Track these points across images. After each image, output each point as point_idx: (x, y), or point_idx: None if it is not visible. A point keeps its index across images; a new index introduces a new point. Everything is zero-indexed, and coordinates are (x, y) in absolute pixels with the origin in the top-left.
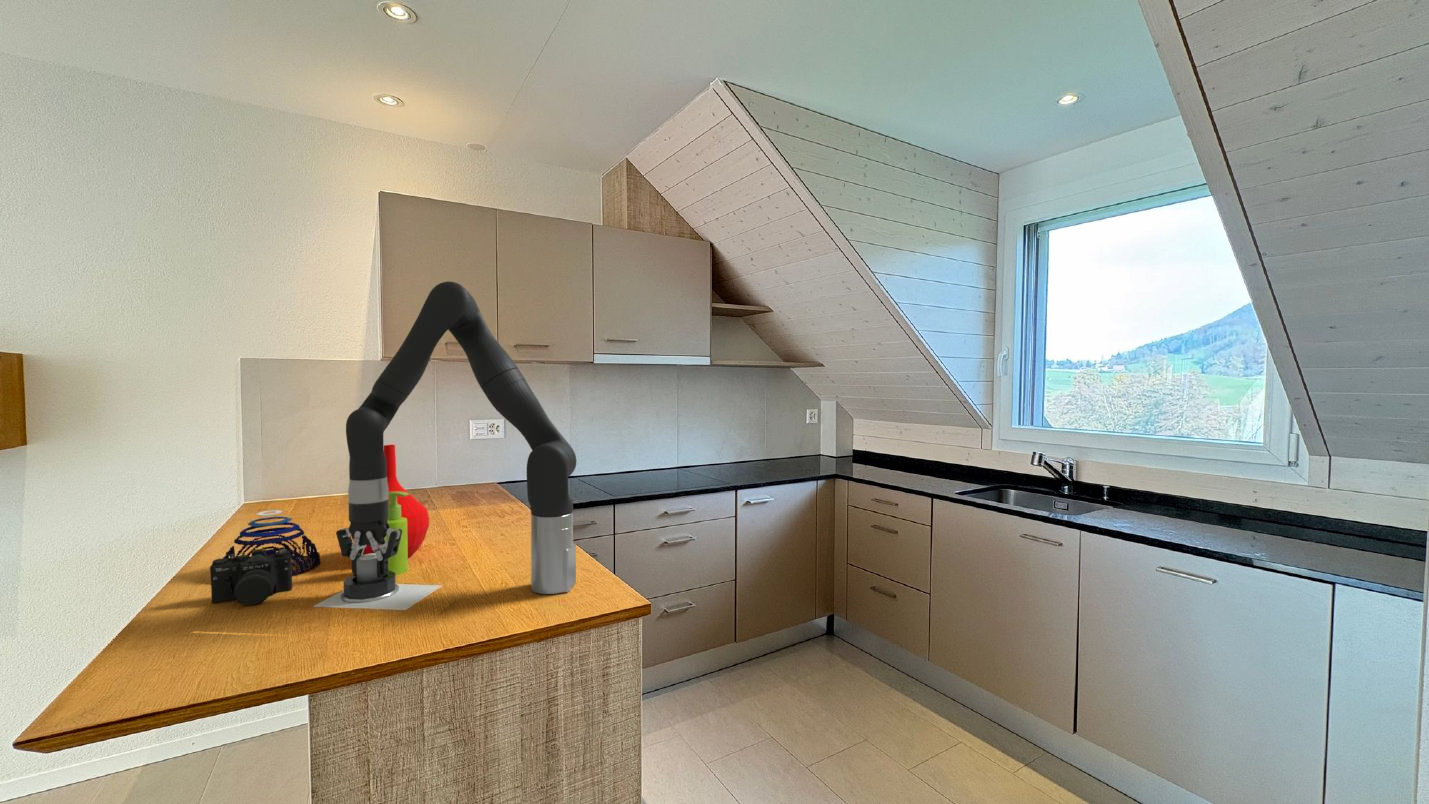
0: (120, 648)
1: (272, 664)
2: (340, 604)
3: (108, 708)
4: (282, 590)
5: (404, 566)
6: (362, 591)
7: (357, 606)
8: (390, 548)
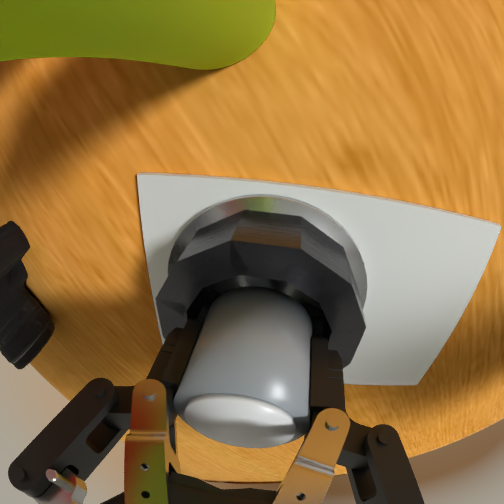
0: (68, 399)
1: (273, 465)
2: None
3: (192, 472)
4: (20, 256)
5: (270, 10)
6: None
7: None
8: (374, 493)
